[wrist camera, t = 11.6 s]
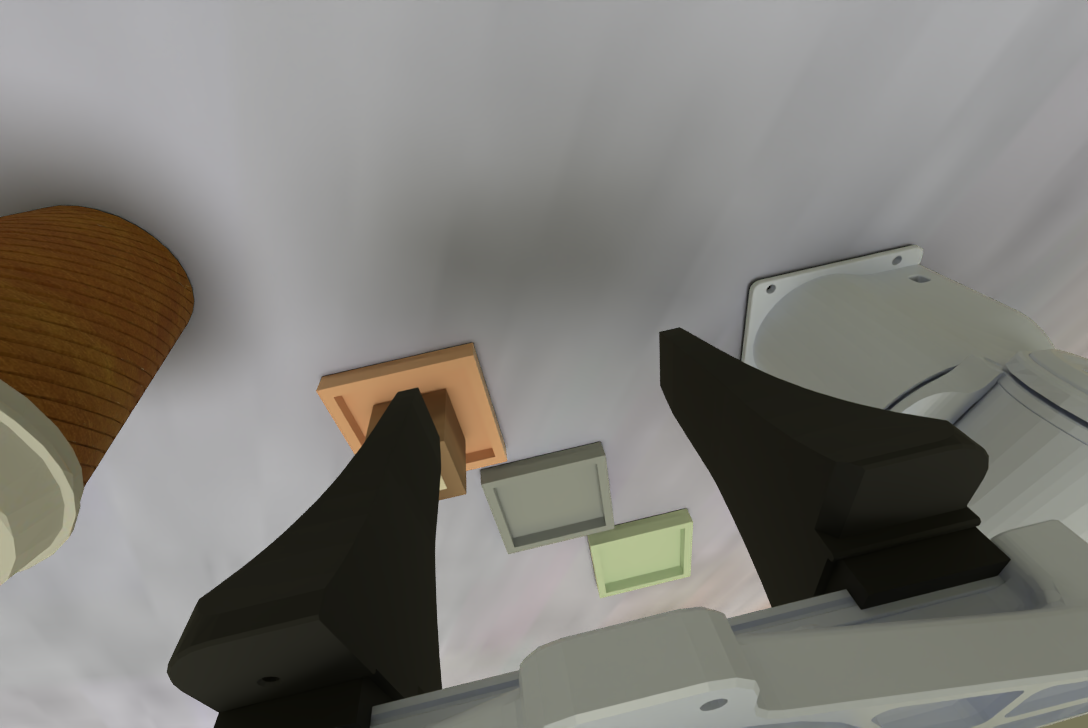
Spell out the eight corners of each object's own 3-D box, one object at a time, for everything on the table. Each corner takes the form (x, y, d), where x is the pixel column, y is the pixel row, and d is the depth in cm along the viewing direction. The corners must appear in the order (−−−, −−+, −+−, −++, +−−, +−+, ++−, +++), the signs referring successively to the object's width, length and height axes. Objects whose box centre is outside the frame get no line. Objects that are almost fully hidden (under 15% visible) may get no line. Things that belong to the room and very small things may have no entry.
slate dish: (600, 441, 29) (605, 455, 28) (610, 514, 34) (614, 528, 33) (480, 469, 29) (481, 484, 28) (506, 539, 34) (508, 554, 33)
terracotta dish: (472, 342, 24) (473, 355, 23) (505, 446, 28) (507, 461, 27) (322, 376, 23) (316, 390, 22) (380, 476, 28) (377, 491, 27)
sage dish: (686, 508, 35) (692, 521, 34) (684, 563, 40) (690, 576, 39) (586, 532, 35) (590, 546, 34) (596, 584, 40) (600, 598, 39)
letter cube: (446, 388, 24) (444, 442, 21) (465, 440, 27) (466, 495, 23) (373, 405, 24) (359, 461, 21) (399, 455, 27) (390, 513, 23)
